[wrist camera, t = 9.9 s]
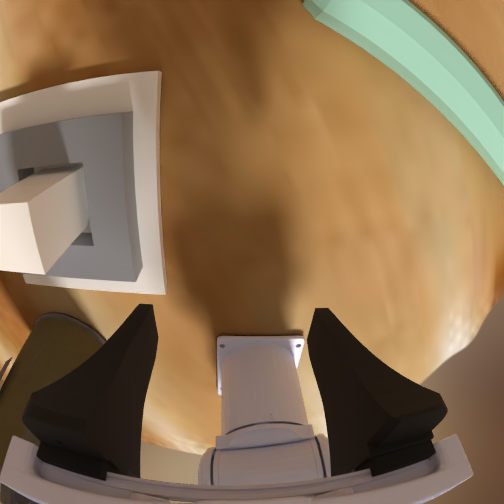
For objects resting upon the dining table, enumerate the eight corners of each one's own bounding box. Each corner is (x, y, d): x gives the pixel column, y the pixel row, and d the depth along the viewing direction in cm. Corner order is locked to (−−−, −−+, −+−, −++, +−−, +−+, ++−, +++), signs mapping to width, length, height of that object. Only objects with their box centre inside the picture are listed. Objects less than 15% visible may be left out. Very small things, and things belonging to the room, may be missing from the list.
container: (315, -30, 8) (548, 212, 15) (343, -66, 8) (551, 156, 14) (278, 27, 14) (500, 207, 20) (307, -18, 14) (508, 157, 20)
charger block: (93, 220, 19) (45, 274, 12) (49, 220, 18) (-3, 269, 12) (86, 165, 17) (27, 202, 11) (42, 169, 16) (-21, 205, 10)
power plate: (167, 287, 23) (160, 311, 20) (30, 277, 22) (15, 296, 19) (161, 72, 15) (149, 67, 13) (1, 103, 14) (-23, 108, 11)
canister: (136, 365, 28) (104, 546, 10) (83, 385, 30) (47, 524, 12) (60, 293, 23) (-30, 487, 5) (19, 328, 25) (-47, 470, 7)
